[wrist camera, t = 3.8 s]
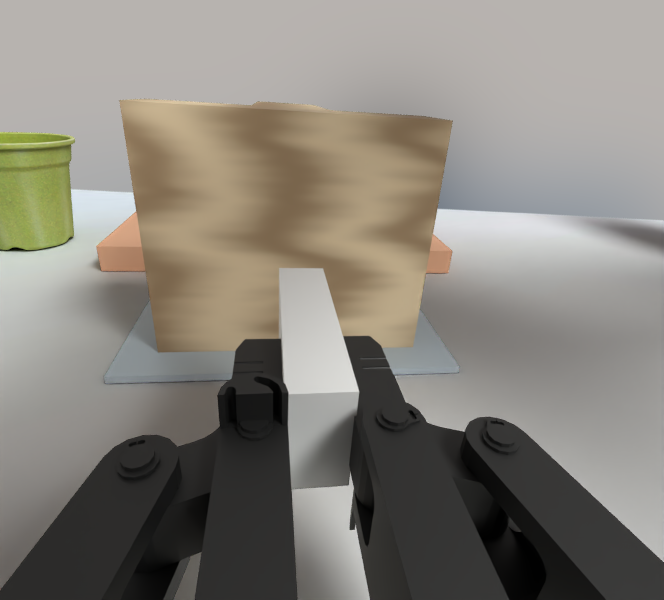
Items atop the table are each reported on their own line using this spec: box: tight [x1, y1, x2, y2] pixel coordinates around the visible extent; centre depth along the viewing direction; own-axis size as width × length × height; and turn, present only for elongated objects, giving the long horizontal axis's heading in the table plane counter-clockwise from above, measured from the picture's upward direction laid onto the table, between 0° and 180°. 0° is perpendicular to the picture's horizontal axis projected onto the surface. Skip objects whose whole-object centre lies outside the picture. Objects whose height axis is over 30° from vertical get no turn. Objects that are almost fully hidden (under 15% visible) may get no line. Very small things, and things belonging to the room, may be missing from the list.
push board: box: [96, 212, 460, 384], centre depth 35 cm, size 28×32×2 cm
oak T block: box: [120, 99, 453, 353], centre depth 26 cm, size 14×14×12 cm
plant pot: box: [0, 132, 75, 250], centre depth 35 cm, size 9×9×9 cm
